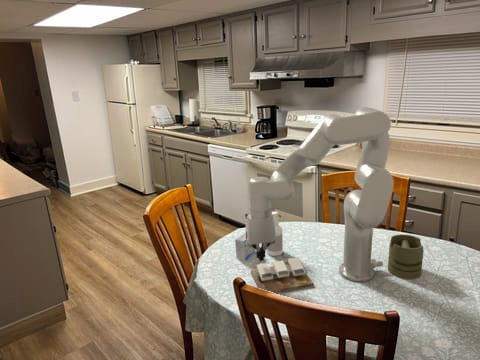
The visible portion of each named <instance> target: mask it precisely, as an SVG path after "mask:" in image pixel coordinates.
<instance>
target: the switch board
mask: <svg viewBox="0 0 480 360" xmlns="http://www.w3.org/2000/svg"><path fill="white" fill-rule="evenodd" d="M284 264H285V266H286V268H287V270H288V272H289V276H287V277H281V278H278V276H277V274H276V272H275V269H274V267H273V265H272V266H269V268H270V270H271V273H272V275H273V279H270V280H264V281H262V280H261V277H260V274H259V272H258V269H257V268H255V269H250V274H251V277H252V278H253V280H254V283H255V285H256V287H257V289H258V288H261V289H264V290H267V291H271V292H274V293H273V294H276V293H283V292H289V291H294V290H300V289H305V288H312V287H314V284H315V283H314V282H313V280H312V279H311V278H310V276H309V275H308V273H307V272H306V271H305V275H299V276H294V275H293V272H292V270H291V267H290V265H289V263H284Z"/></svg>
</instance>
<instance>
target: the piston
mask: <svg viewBox="0 0 480 360" xmlns="http://www.w3.org/2000/svg"><path fill="white" fill-rule="evenodd" d="M389 241H390V242H389V246H388V247H389V248H388V258H387V259H388V261H387V270H388V271H387V272H388V273H390V275H392V276H393V277H396V278H400V279H402V280H416V279H418V278H420V277H421V276H422V271H423V269H422V268H423V259H424V250H425V249H424V245H422V242H421V238H419V237H417V236H415V235H411V234H395V235H392V236H391V239H390V240H389Z"/></svg>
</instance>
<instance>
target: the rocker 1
mask: <svg viewBox="0 0 480 360" xmlns="http://www.w3.org/2000/svg"><path fill="white" fill-rule="evenodd" d="M269 267H270V266H269V264H268V262H267V263H266V262H265V263H259V264H256V269H258V272H259V274H260V277H261V280H262V281H264V280H270V279H273V275H272V273H271V270H270V268H269Z"/></svg>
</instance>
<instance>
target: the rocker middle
mask: <svg viewBox="0 0 480 360" xmlns="http://www.w3.org/2000/svg"><path fill="white" fill-rule="evenodd" d="M285 264H286V263H285V262H284V260H278V261H273V262H272V264H271V265H272V266H273V267H274V269H275V272H276V274H277V276H278V278H281V277H287V276H289V272H288V270H287V268H286V266H285Z"/></svg>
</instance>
